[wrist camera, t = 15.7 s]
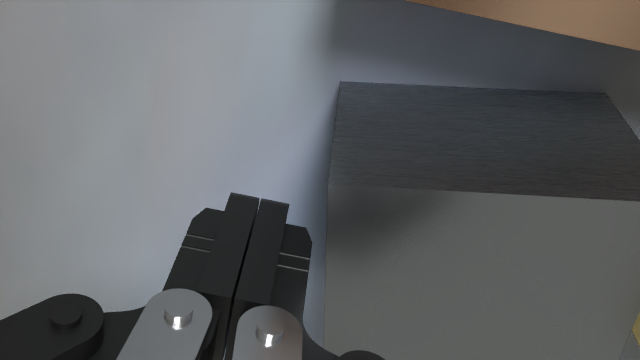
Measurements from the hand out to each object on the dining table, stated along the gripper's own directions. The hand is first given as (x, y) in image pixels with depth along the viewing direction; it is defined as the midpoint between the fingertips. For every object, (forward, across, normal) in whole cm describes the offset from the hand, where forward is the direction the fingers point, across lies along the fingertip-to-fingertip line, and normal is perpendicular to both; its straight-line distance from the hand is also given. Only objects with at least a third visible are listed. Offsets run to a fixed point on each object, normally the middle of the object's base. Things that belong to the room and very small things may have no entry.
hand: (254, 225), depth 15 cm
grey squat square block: (+3, -6, 0) cm, 6 cm away
